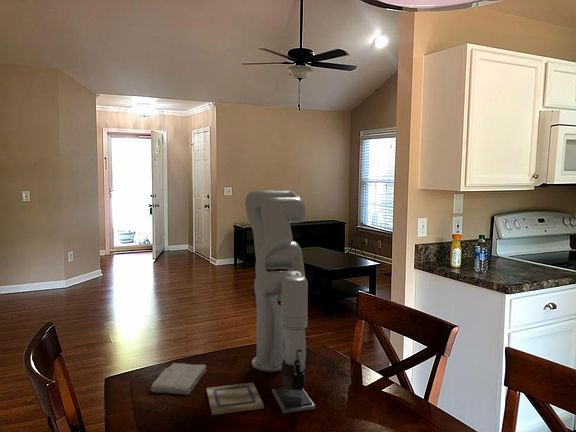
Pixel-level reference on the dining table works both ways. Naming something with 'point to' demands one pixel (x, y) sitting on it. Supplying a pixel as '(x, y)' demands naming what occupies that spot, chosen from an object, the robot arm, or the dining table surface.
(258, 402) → the board
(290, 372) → the box
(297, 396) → the ink pad
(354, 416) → the dining table surface
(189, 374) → the washcloth
